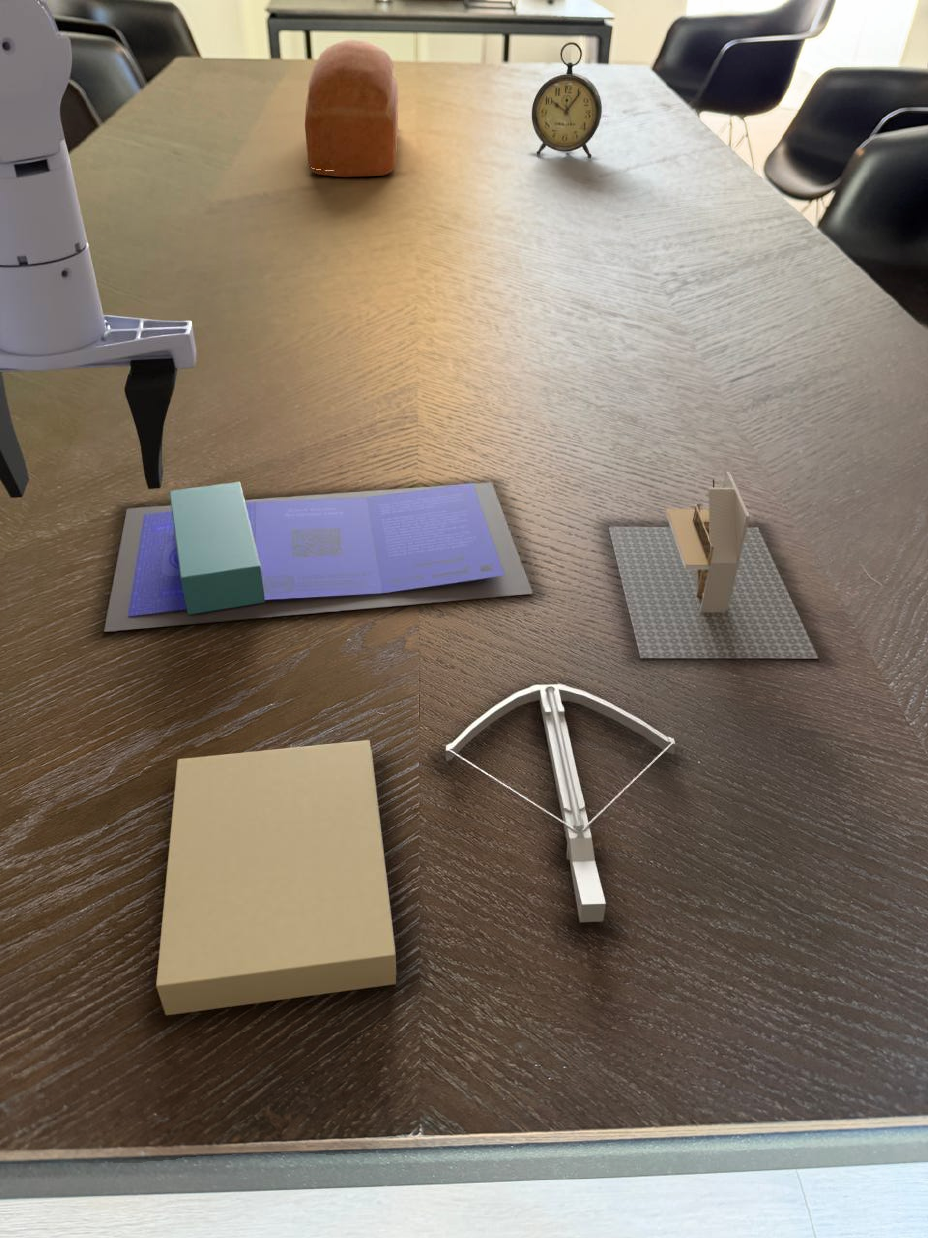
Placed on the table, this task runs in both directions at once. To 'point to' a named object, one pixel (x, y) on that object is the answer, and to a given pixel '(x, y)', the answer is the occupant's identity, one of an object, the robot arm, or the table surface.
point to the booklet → (332, 555)
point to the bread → (352, 111)
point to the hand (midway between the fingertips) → (88, 484)
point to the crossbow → (568, 777)
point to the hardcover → (274, 879)
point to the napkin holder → (707, 586)
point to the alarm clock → (566, 110)
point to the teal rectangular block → (216, 548)
